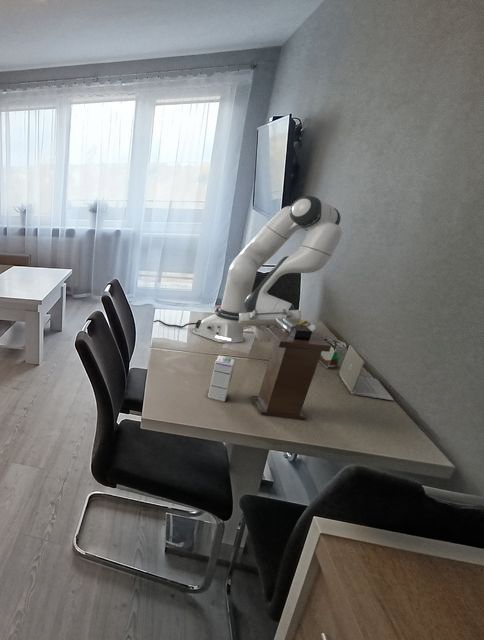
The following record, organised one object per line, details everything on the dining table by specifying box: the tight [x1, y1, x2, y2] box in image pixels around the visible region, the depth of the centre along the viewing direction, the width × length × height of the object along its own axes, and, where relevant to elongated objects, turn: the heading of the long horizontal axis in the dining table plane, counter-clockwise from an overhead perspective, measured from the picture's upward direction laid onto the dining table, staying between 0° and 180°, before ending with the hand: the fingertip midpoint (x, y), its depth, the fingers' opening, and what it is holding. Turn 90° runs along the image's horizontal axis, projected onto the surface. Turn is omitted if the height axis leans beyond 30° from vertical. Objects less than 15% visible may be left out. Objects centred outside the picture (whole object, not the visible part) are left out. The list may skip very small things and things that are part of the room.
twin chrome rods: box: [276, 318, 312, 340], centre depth 135 cm, size 18×4×3 cm, turn 168°
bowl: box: [249, 318, 317, 333], centre depth 209 cm, size 30×30×8 cm
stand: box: [250, 328, 331, 421], centre depth 135 cm, size 12×14×26 cm
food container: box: [318, 336, 348, 370], centre depth 172 cm, size 12×6×10 cm, turn 168°
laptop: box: [338, 344, 394, 401], centre depth 153 cm, size 18×12×13 cm
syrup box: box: [207, 355, 236, 402], centre depth 144 cm, size 6×6×14 cm
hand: (270, 311), depth 152 cm, fingers open, 8 cm apart
